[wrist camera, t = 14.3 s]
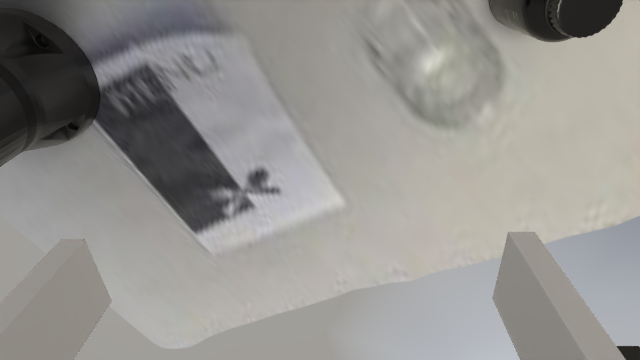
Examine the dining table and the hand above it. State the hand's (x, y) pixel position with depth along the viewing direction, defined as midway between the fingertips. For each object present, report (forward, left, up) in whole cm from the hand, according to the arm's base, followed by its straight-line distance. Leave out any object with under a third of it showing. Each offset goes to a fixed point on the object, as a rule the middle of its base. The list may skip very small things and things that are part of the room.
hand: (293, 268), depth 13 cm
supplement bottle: (+20, +5, -35) cm, 41 cm away
